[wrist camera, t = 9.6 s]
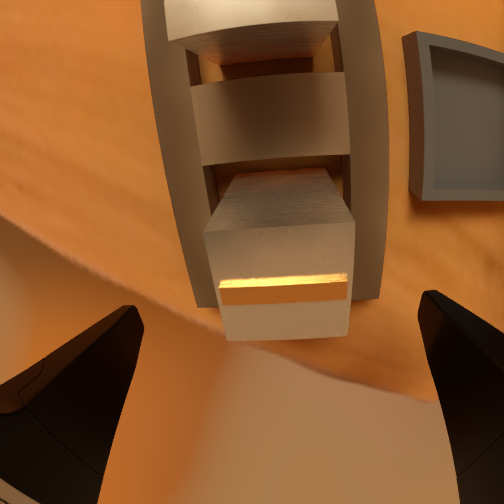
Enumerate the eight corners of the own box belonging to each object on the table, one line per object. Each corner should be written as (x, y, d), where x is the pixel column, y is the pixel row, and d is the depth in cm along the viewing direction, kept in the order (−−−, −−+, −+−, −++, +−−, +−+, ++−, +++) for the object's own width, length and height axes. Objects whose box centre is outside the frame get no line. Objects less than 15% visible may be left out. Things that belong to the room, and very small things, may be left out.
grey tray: (514, 64, 9) (533, 65, 8) (513, 191, 13) (529, 201, 12) (401, 37, 10) (415, 30, 9) (408, 189, 14) (421, 200, 13)
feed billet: (324, 167, 14) (357, 224, 8) (326, 246, 16) (348, 339, 10) (236, 173, 15) (200, 234, 9) (247, 250, 17) (226, 345, 11)
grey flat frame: (348, -51, 8) (355, -68, 6) (370, 278, 17) (378, 298, 15) (153, -29, 10) (138, -41, 8) (205, 287, 18) (197, 307, 17)
